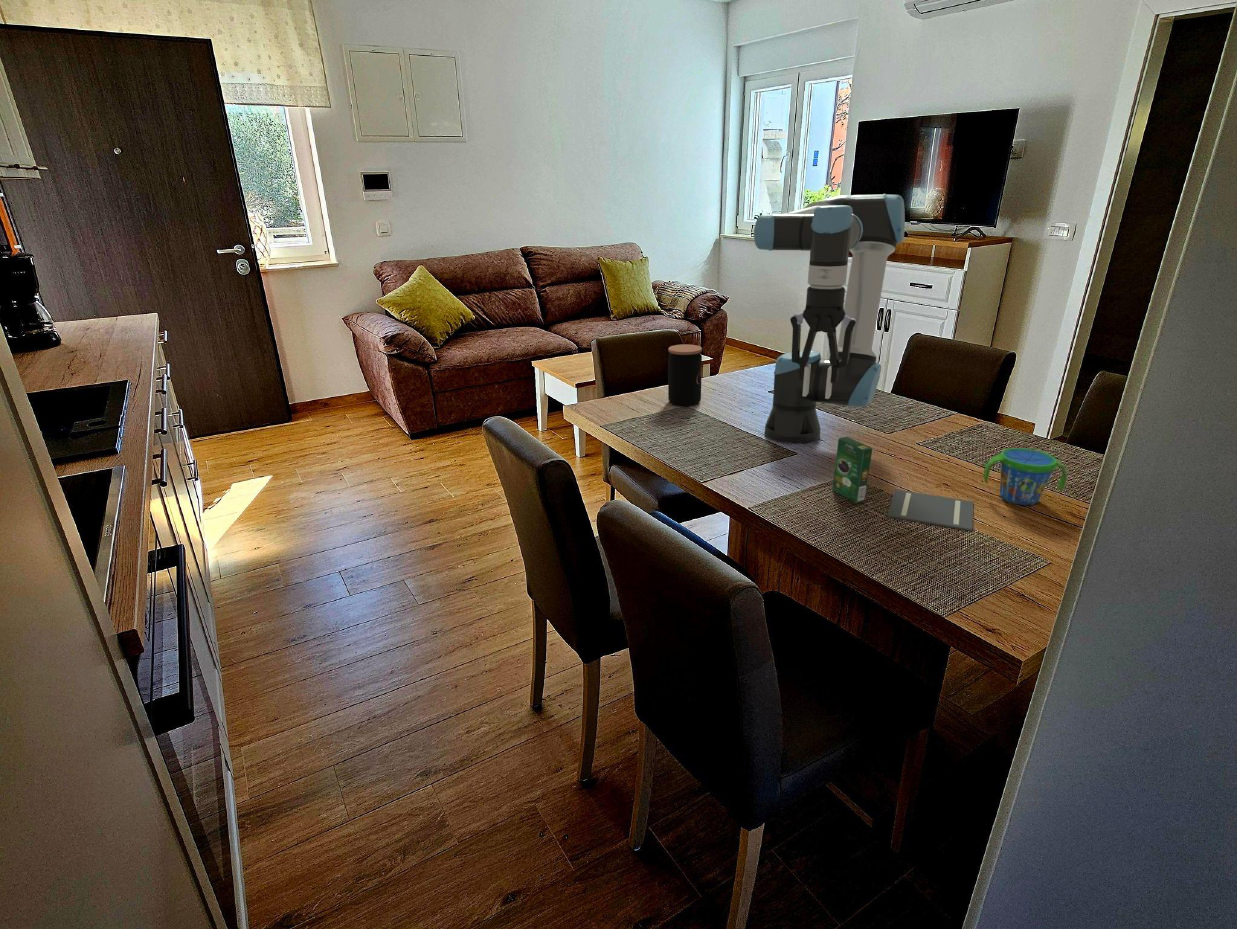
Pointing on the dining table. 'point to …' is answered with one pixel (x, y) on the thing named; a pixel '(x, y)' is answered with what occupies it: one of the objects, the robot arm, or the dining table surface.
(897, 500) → the mat
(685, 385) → the coffee jar
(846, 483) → the coffee box
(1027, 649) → the dining table surface
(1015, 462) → the snack cup
